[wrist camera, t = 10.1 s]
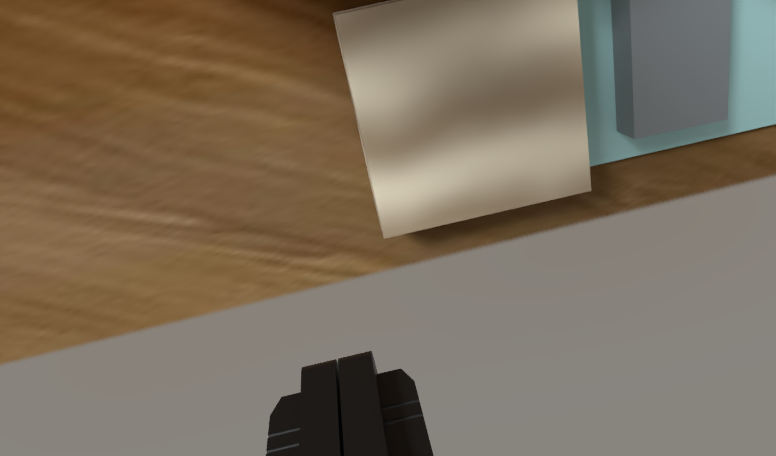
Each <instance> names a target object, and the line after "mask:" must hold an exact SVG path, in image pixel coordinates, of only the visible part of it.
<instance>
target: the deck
mask: <svg viewBox="0 0 776 456" xmlns="http://www.w3.org/2000/svg"><path fill="white" fill-rule="evenodd" d="M333 17H334V22H335V26H336V31H337V35H338V40H339V44H340V49H341V53H342V58H343V62H344V67H345V71H346V76H347V80H348V85H349V89H350V94H351V98H352V103H353V107H354V112H355V116H356V121H357V125H358V130H359V134H360V139H361V143H362V148H363V152H364V157H365V161H366V166H367V170H368V175H369V179H370V184H371V188H372V193H373V197H374V202H375V206H376V211H377V215H378V219H379V222H380V226H381V230H382V233H383V237H384V239H385V238H389V237H393V236H398V235H402V234H406V233H411V232H415V231H419V230H424V229H428V228H432V227H437V226H441V225H446V224H450V223H454V222H459V221H463V220H467V219H472V218H476V217H480V216H485V215H489V214H493V213H498V212H502V211H506V210H511V209H515V208H519V207H524V206H528V205H532V204H537V203H541V202H545V201H550V200H554V199H558V198H563V197H567V196H571V195H576V194H580V193H584V192H589V191H592V190H591V177H590V164H589V151H588V137H587V124H586V111H585V97H584V84H583V71H582V58H581V44H580V31H579V18H578V5H577V0H389V1H385V2H380V3H375V4H371V5H366V6H362V7H357V8H353V9H348V10H343V11H339V12H334V13H333Z"/></svg>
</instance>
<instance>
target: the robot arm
mask: <svg viewBox="0 0 776 456" xmlns="http://www.w3.org/2000/svg"><path fill="white" fill-rule="evenodd" d="M268 436H269V438H268V441H267V454H266V456H433V452H432V449H431V445H430V440H429V437H428V433H427V429H426V425H425V421H424V417H423V413H422V409H421V405H420V402H419V398H418V394H417V390H416V386H415V382H414V381H413V379H411V378H410V377H409V376H408V375H407V374H406V373H405V372H404V371H403V370H402V369H397V370H393V371H388V372H384V373H380V374H378V373H377V369H376V366H375V361H374V357H373V354H372V351H369V352H365V353H360V354H356V355H352V356H348V357H343V358H340V359H338V363H337V360H331V361H327V362H323V363H318V364H314V365H310V366H306V367H302V371H301V393H296V394H292V395H288V396H284V397H281V399H280V401H279V402H278V404H277V405H276V407H275V409H274V410H273V412H272V414H271V415H270V421H269V432H268Z"/></svg>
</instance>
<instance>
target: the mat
mask: <svg viewBox="0 0 776 456" xmlns="http://www.w3.org/2000/svg"><path fill="white" fill-rule="evenodd" d="M577 5H578V18H579V31H580V44H581V58H582V71H583V84H584V97H585V111H586V124H587V137H588V151H589V164H590V167H591V166H595V165H599V164H604V163H608V162H612V161H617V160H621V159H625V158H630V157H634V156H639V155H643V154H647V153H652V152H656V151H660V150H665V149H669V148H673V147H678V146H682V145H687V144H691V143H695V142H700V141H704V140H708V139H713V138H717V137H721V136H726V135H730V134H735V133H739V132H743V131H748V130H752V129H756V128H761V127H765V126H769V125H774V124H776V0H731V10H730V49H729V89H728V119H726V120H722V121H717V122H712V123H708V124H703V125H699V126H694V127H689V128H685V129H680V130H676V131H671V132H667V133H662V134H657V135H653V136H648V137H644V138H639V139H633V138H631V137H628V136H626V135H624V134H622V133H620V132H618V131H617V126H616V104H615V82H614V60H613V38H612V16H611V0H577Z"/></svg>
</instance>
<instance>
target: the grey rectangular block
mask: <svg viewBox="0 0 776 456" xmlns="http://www.w3.org/2000/svg"><path fill="white" fill-rule="evenodd" d="M730 10H731V0H611V16H612V38H613V60H614V82H615V104H616V126H617V131H618V132H620V133H622V134H624V135H626V136H628V137H631V138H633V139H639V138H644V137H648V136H653V135H657V134H662V133H667V132H671V131H676V130H680V129H685V128H689V127H694V126H699V125H703V124H708V123H712V122H717V121H722V120H726V119H728V89H729V49H730Z"/></svg>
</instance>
